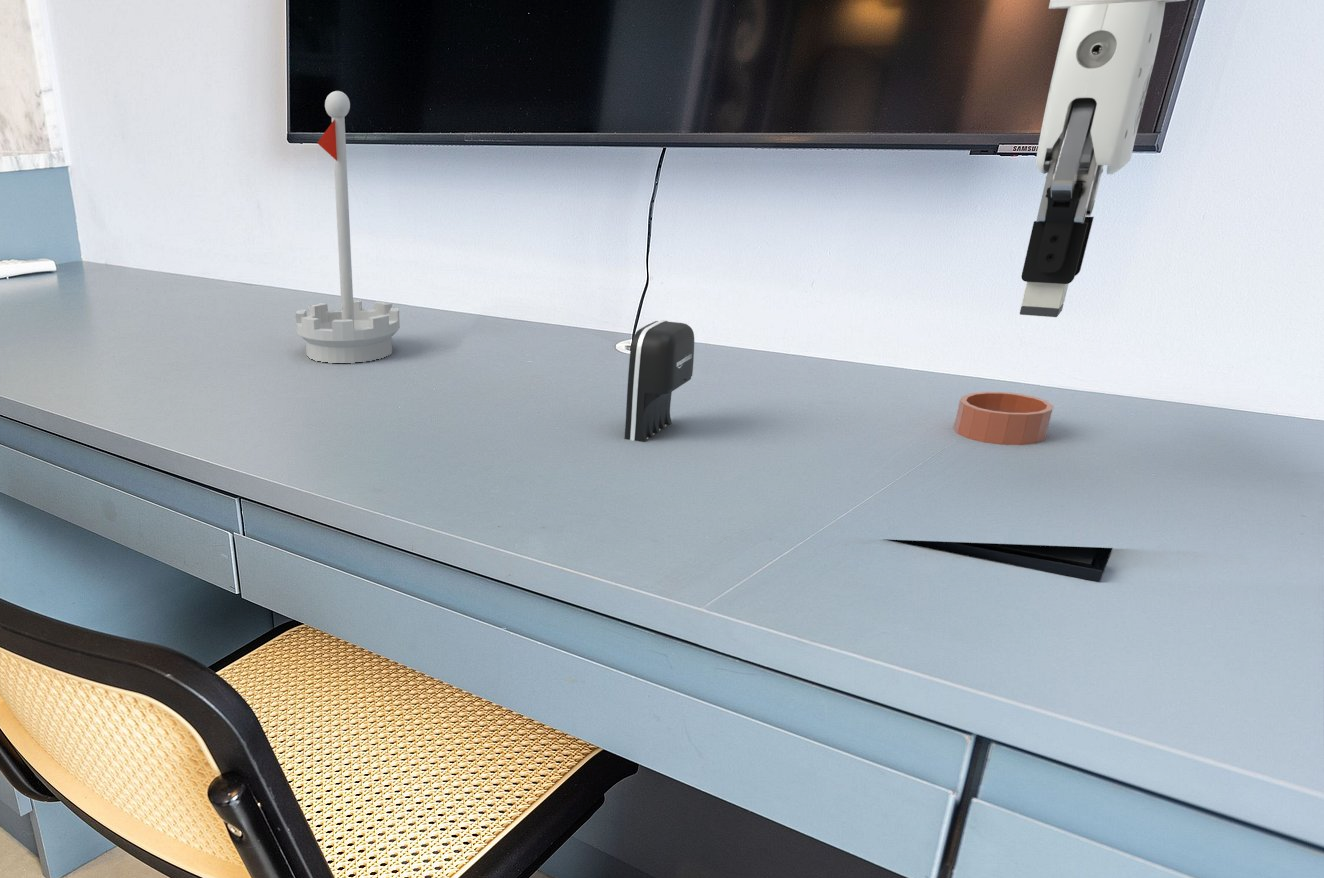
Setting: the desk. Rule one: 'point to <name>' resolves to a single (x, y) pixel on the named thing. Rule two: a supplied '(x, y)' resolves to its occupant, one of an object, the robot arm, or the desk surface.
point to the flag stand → (345, 276)
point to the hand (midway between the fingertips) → (1050, 276)
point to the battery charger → (656, 375)
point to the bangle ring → (1003, 418)
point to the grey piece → (1043, 298)
